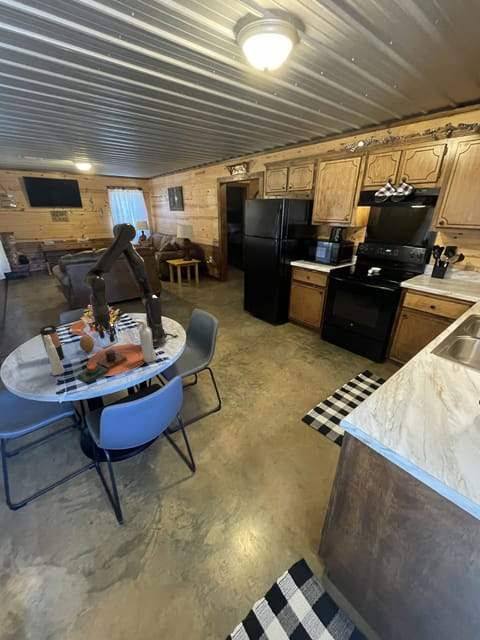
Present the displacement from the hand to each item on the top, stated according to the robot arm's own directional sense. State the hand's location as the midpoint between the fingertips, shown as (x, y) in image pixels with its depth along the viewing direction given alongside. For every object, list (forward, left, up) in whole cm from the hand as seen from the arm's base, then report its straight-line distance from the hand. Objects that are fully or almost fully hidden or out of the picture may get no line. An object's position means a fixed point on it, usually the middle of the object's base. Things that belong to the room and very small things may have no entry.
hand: (107, 339), depth 144 cm
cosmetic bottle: (+21, -17, -15) cm, 31 cm away
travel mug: (+14, -32, -15) cm, 38 cm away
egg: (-1, -25, -15) cm, 30 cm away
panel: (0, 0, -15) cm, 15 cm away
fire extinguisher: (-13, +16, -15) cm, 26 cm away
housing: (+13, +2, -15) cm, 20 cm away
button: (+13, +2, -11) cm, 17 cm away
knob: (0, 0, -12) cm, 12 cm away
